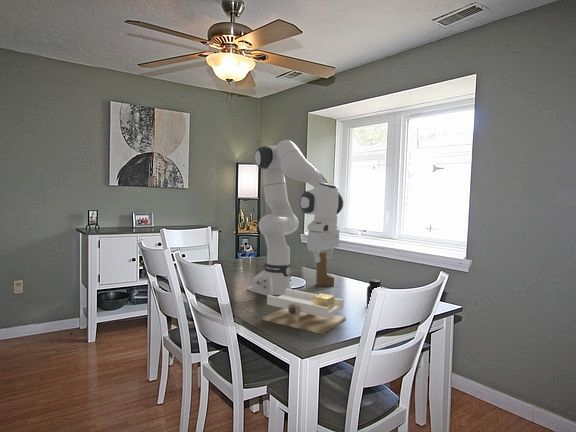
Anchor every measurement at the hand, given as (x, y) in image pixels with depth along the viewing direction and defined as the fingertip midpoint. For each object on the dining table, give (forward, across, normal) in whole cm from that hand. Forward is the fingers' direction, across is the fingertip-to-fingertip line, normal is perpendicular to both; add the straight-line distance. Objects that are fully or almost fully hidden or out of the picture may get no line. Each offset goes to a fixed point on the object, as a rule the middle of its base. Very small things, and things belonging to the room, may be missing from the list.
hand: (323, 260), depth 154 cm
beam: (+18, +4, -5) cm, 19 cm away
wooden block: (+24, -53, -25) cm, 64 cm away
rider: (+17, +4, +3) cm, 17 cm away
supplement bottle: (+23, -30, +11) cm, 40 cm away
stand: (+24, +4, -5) cm, 24 cm away
